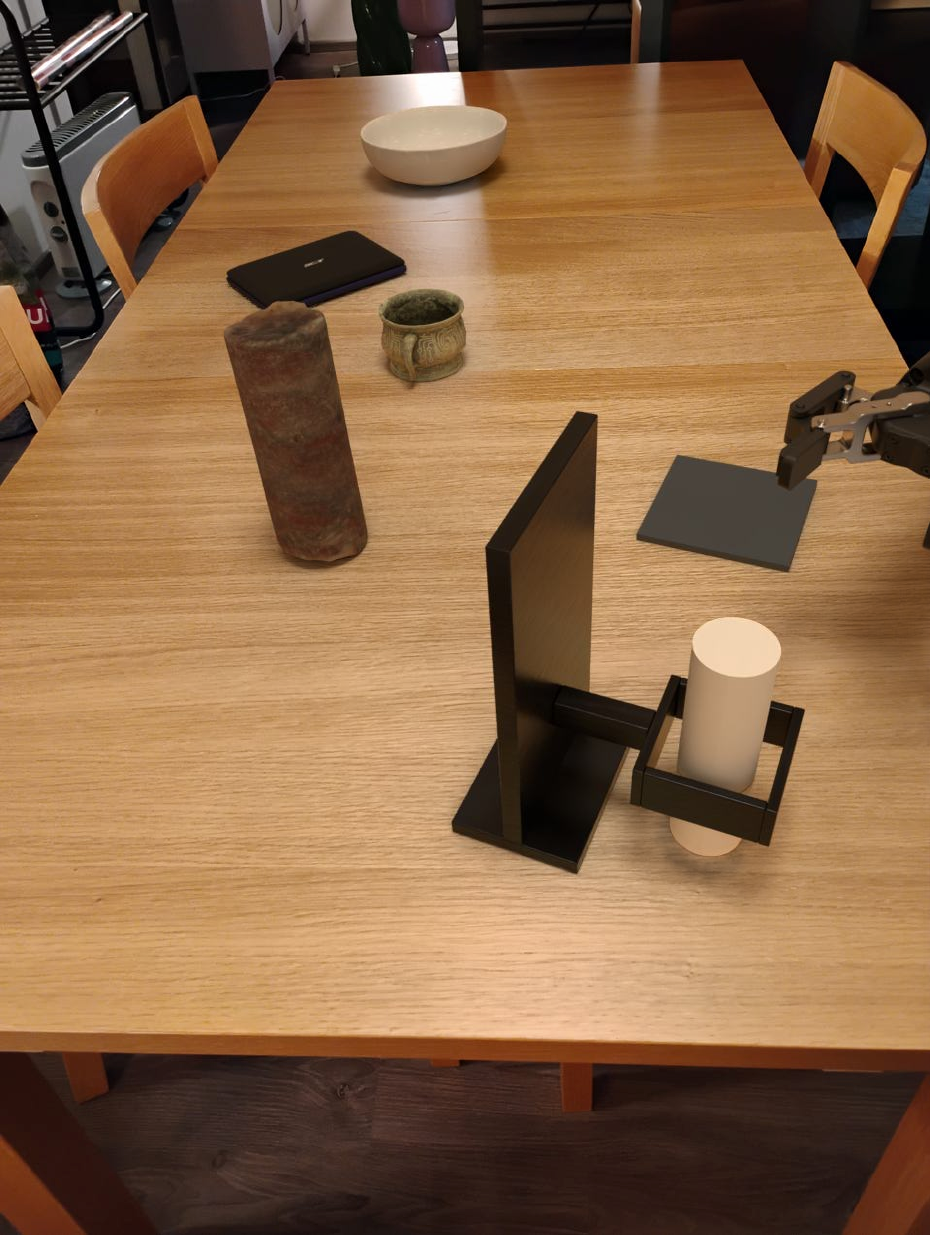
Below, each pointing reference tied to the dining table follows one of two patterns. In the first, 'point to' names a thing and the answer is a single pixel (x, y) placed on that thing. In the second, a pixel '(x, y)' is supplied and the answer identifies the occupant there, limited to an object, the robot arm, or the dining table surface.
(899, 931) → the dining table surface
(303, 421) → the candle
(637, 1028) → the dining table surface
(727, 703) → the tube
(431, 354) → the vessel
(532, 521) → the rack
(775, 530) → the mat
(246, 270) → the laptop
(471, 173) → the serving bowl
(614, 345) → the dining table surface
